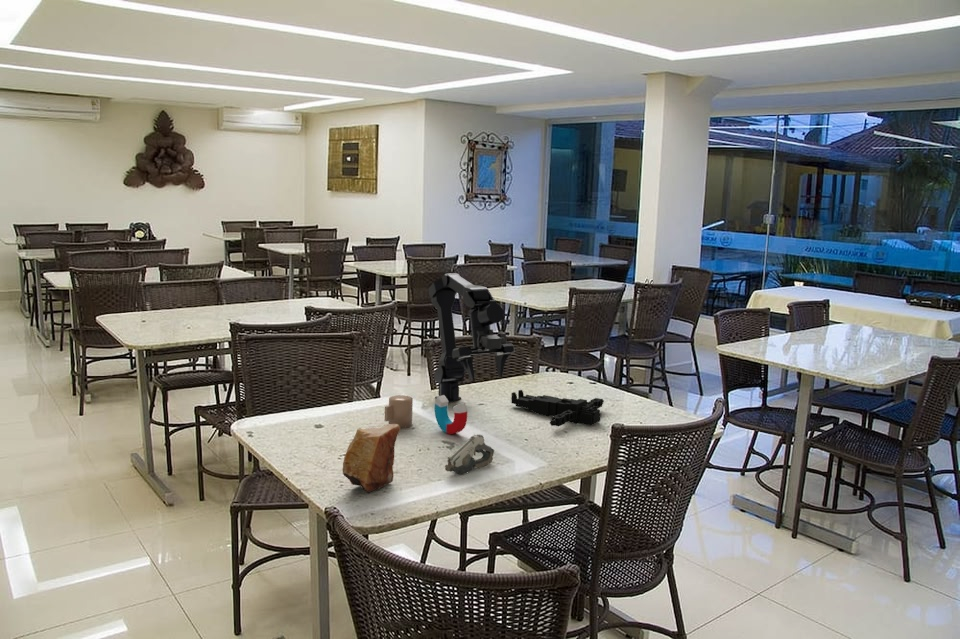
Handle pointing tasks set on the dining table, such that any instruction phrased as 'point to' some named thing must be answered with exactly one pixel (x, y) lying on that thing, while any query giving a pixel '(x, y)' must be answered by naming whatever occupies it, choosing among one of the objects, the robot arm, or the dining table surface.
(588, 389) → the dining table surface
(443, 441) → the dining table surface
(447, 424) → the magnet
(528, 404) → the toy
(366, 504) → the dining table surface
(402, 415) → the cup
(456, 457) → the futuristic pistol
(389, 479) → the stone
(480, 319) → the robot arm
